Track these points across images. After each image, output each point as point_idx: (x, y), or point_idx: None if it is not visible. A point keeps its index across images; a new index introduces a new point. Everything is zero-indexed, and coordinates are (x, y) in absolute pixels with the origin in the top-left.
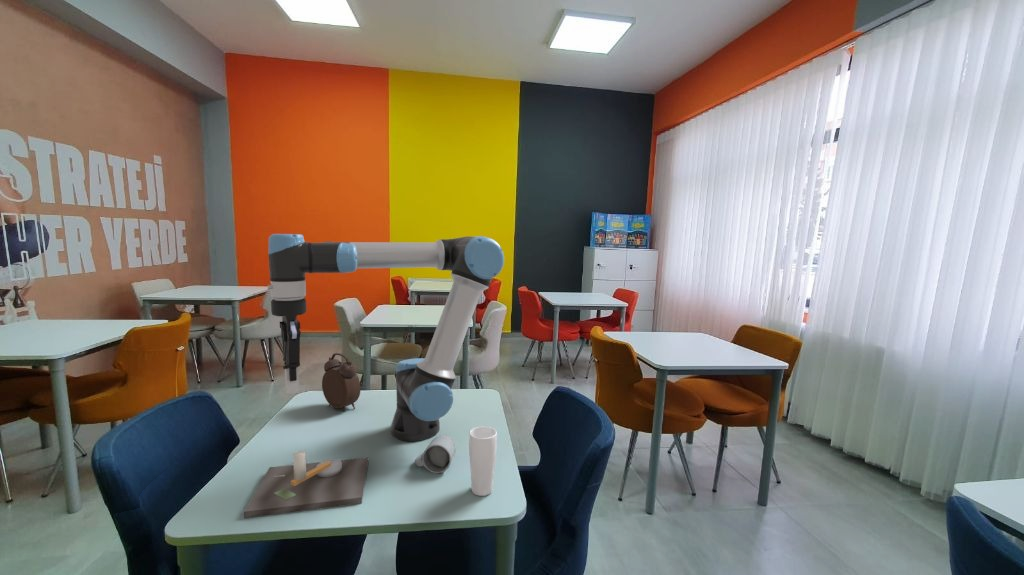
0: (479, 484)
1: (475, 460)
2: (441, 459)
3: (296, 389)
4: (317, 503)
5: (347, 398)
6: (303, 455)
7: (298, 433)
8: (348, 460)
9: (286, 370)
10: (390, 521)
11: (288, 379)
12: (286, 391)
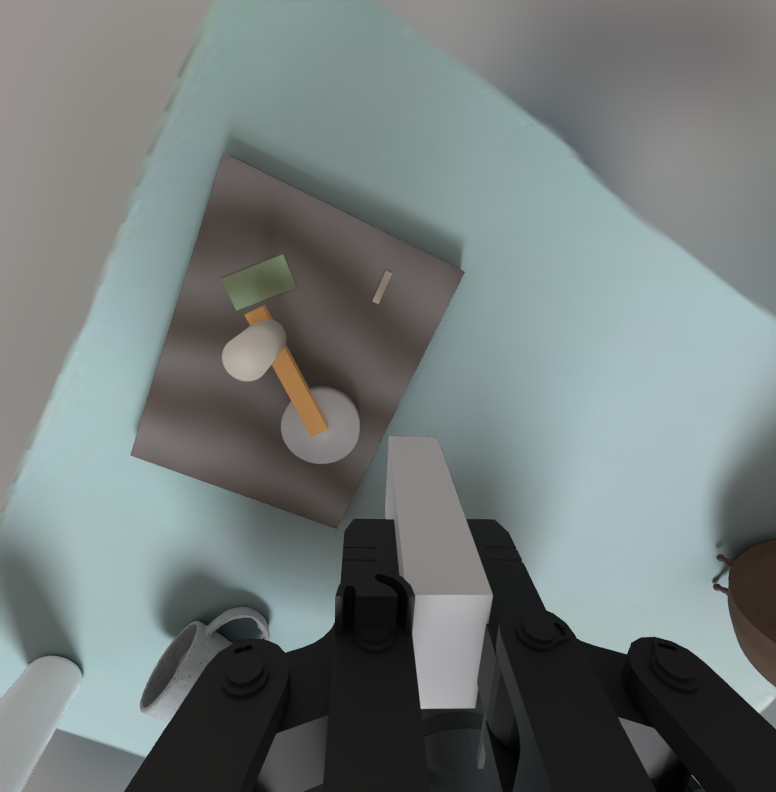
0: (9, 688)
1: None
2: (177, 668)
3: (387, 509)
4: (162, 351)
5: (734, 604)
6: (227, 369)
7: (677, 400)
8: (352, 481)
9: (404, 577)
10: (28, 478)
11: (396, 517)
12: (412, 442)
